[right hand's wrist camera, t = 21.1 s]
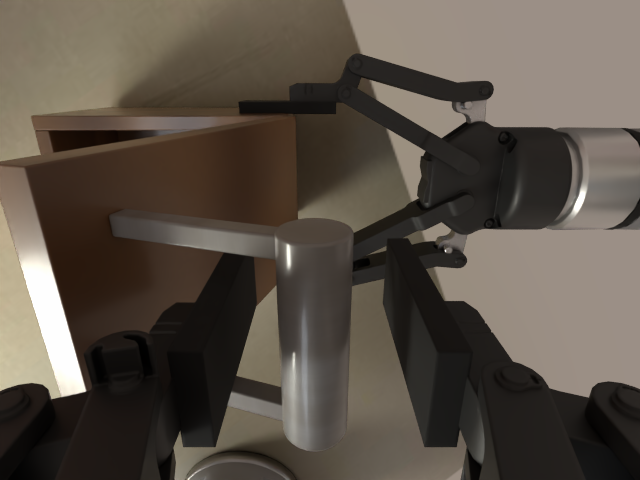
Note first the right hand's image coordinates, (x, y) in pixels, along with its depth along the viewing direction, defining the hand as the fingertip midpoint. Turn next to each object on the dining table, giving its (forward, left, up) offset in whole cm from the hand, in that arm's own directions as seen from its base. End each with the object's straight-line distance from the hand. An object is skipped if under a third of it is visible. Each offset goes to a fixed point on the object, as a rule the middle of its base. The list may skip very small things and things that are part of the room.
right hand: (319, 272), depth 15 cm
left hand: (-1, +5, -16) cm, 17 cm away
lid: (-1, +5, -4) cm, 7 cm away
